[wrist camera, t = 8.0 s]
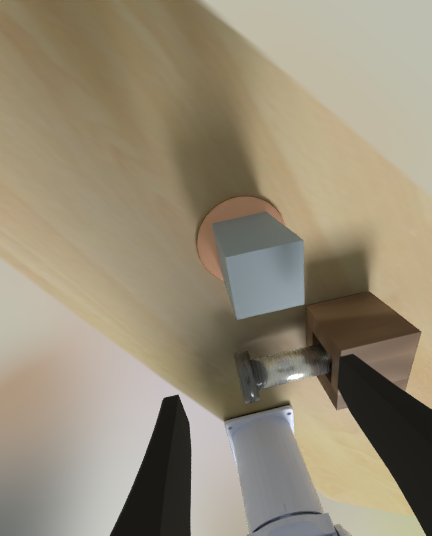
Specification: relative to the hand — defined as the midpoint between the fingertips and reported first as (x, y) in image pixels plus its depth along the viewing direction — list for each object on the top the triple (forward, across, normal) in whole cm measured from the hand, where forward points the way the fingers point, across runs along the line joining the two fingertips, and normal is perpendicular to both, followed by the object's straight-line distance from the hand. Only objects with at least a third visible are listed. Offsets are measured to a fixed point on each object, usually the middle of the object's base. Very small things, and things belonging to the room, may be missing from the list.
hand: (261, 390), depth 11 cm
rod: (+9, -4, +8) cm, 13 cm away
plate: (+10, -2, -3) cm, 11 cm away
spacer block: (+10, -2, -3) cm, 11 cm away
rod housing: (+10, -10, +8) cm, 16 cm away
